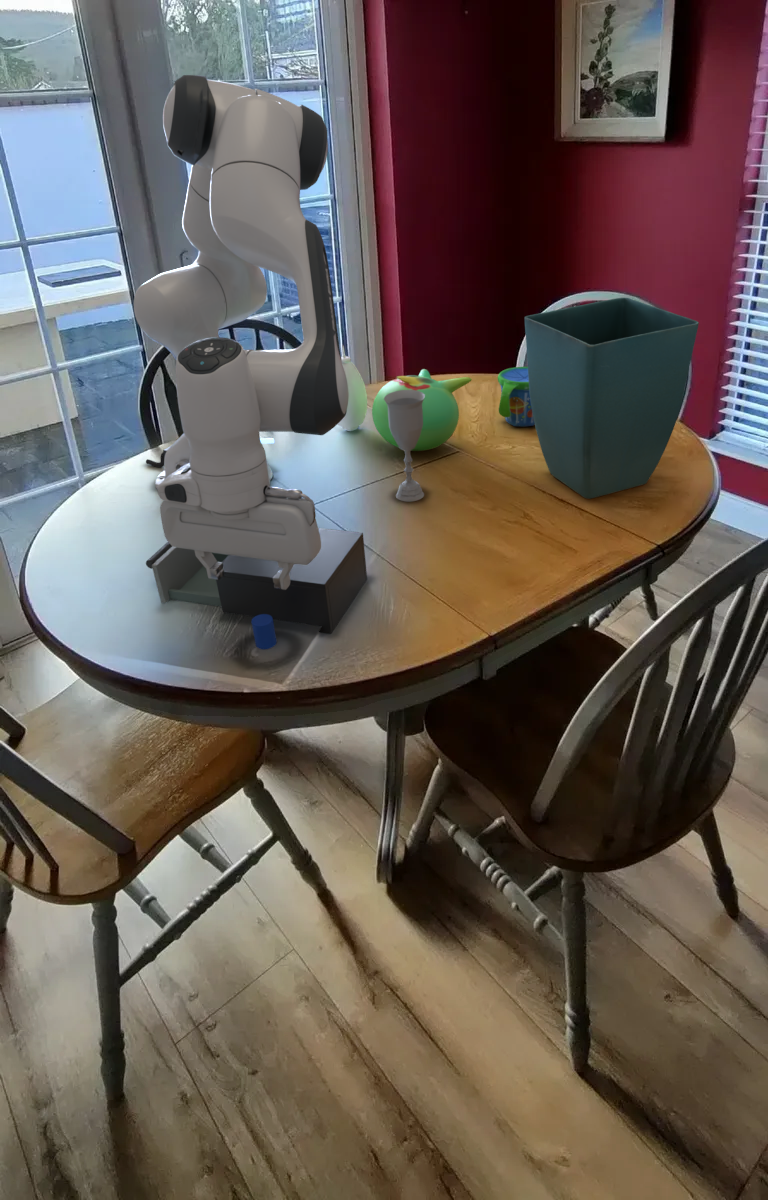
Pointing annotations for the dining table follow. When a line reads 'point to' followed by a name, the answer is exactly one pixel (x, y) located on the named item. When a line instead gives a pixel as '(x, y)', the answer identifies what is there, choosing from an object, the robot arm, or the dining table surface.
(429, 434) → the toy bird
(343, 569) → the dark grey drawer cabinet
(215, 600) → the grey drawer
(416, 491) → the chalice
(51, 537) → the dining table surface
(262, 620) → the lid
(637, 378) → the flower pot
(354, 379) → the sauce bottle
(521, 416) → the snack cup
